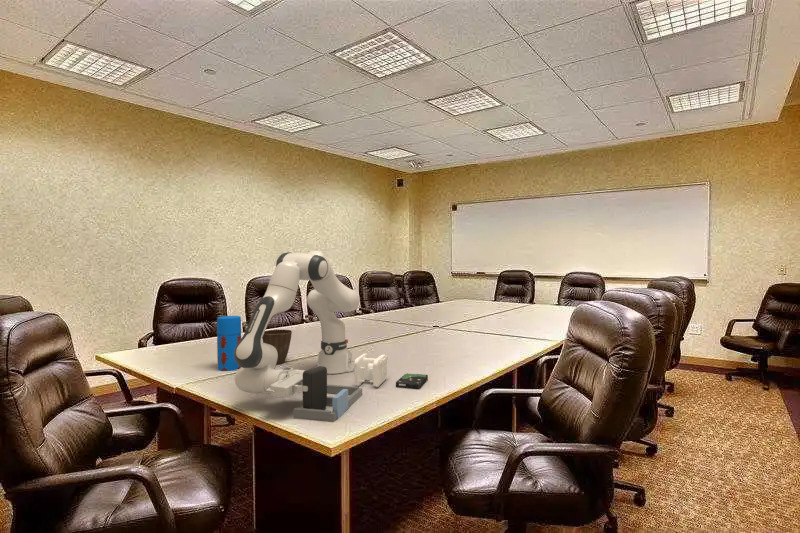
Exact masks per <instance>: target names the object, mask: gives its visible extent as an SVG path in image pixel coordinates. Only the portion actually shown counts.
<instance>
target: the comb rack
mask: <svg viewBox="0 0 800 533" xmlns="http://www.w3.org/2000/svg"><path fill="white" fill-rule="evenodd" d="M327 394H334V396H330V395H327V406H326V407H332V410H330V409H329V410H328V409H327V410H326V409H323V410H317V409H306V408H303V407H294V408H293V419H300V420H310V421H311V420H312V421H323V422H332V423H334V422H335V421H336V420H338V419H339V418H340V417H342V416H343V414H344V413H346V412H347V411H348V410H349V408H350V407H351V406H352V405H353V404H354V403H355V402H356V401H357V400H358V399H359V398H360V397H361V396H362V395H363V387H360V386H356V385H355V386H352V385H338V384H327Z"/></svg>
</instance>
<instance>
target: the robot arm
mask: <svg viewBox="0 0 800 533" xmlns="http://www.w3.org/2000/svg"><path fill="white" fill-rule="evenodd" d="M327 258H328V257H326V255H325V254H324V253H323V252H321V251H320V250H311V251H309V252H308V253H307V252H289V251H287V252H283V253H281V254H280V255H279V256H278V258H277V260H276V261H275V262H276V263H275V268H274V270H273V272H272V275H271V278H270V279H269V282H268V285H267V288H266V291H265V292H264V295H263V297H262V298H260V300H259V301H258V303H257V305H256V307H255V308H254V310H253V313H252V315H251V318H250V320H249V322H248V323H247V326H246V329H245V332H244V334H243V336H241V340H240V341H239V342H238V344H237V345H236V347H235V350H234V359H235V361H236V363H237V364H238V365H239V366H240V367H241V368H240V369H238V370H236V372H235V374H234V383H235V386H236V387H237V389H238V390H240V391H242V392H244V393H250V394H265V395H271V397H277V398H289V397H291V396H292V395H293V394H295V393H300V392H302V393H303V391H308V386H305V385H303V372H304V371H306V369H305V370H304V369H294V368H293V367H286V368H282V369H281V368H279V369H278V368H276V366H277V364H276V363H277V360H278V352H277V350H276V348H275V347H274V346H272V345H269V344H267V343H263V340H262V337H263V334H264V332H265V331H267V330H266V329H267V327H268V325H269V323H270V321H271V319H272V318H273V316H275V315H277V314H280V313H284V312H287V311H288V310H290V309H291V308H292V306H293V304H294V302H295V301H296V300H295V299H296V296H297V292H298V289H299V284H300V280H302V281H310V283H311V285H312V287H313V289H311V291H310V292H308V295H307V298H306V303H307V305H308V307H309V309H310V310H312V311H313V312H314V313H315V314H316V316H317V318H318V321H319V324H320V327H321V341H320V351H319V352H318V355H317V356H318V357H317V366H316V367H318V366H323V367H326V368H327V375H328V374H329V375H333V374H334V375H335V374H342V373H343V374H344V373H348V372H349V373H350V372H354V362H355V360H354V361H353V354H352V352H351V351H350V350H349V349H348V345H347V344H349V339H348V338H346V325H345V323H344V322H343V321H342V320H341V319H339V318H338V317H337V315H336V313H348V312H353V311H356V310H357V309H358V307H359V305H360V302H361V301H360V300H361V299H360V295H359V293H358V292H357V291H356V290H355V289H352V288H350V287H348V286H346V285H345V284H343V283H342V281H340V280H339V279H338V277H337V276H336V274H335V272H334V270H333V268H332V265H331V263H330V261H329V260H328V259H327ZM335 312H336V313H335Z"/></svg>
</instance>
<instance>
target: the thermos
mask: <svg viewBox="0 0 800 533" xmlns="http://www.w3.org/2000/svg"><path fill="white" fill-rule="evenodd" d="M216 338H217V339H216V341H217V344H216V345H217V347H216V348H217V349H216V350H217V352H216V353H217V354H216V355H217V370H218V371H220V372H232V371H238V370H239V369H240V368H241V367H240V366H239V365H238V364H237V363H236V361H235V359H234V350H235V347H236V345H237V344H238V342H239V341H240V340H241V338H242V318H241V316H240V315H223V316H218V317H217V319H216Z"/></svg>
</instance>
